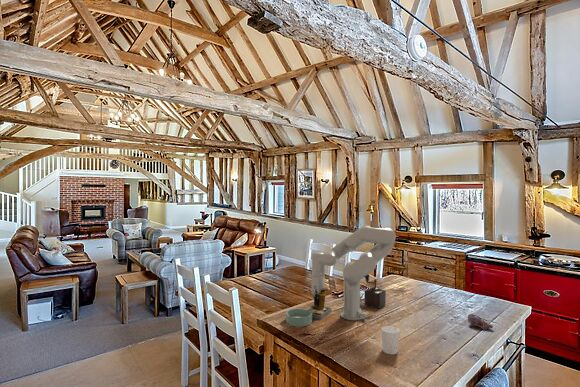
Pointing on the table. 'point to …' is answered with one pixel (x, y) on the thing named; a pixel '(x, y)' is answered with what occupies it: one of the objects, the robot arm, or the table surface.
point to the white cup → (390, 339)
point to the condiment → (320, 302)
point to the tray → (322, 314)
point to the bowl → (299, 317)
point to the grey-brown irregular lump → (478, 321)
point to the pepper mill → (374, 295)
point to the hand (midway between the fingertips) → (319, 302)
